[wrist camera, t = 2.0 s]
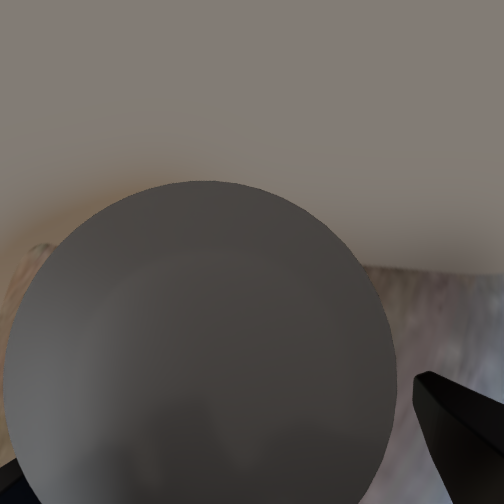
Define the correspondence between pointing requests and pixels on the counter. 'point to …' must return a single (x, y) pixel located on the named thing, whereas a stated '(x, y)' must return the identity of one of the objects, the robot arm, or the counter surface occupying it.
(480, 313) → the counter surface
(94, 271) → the spice jar
